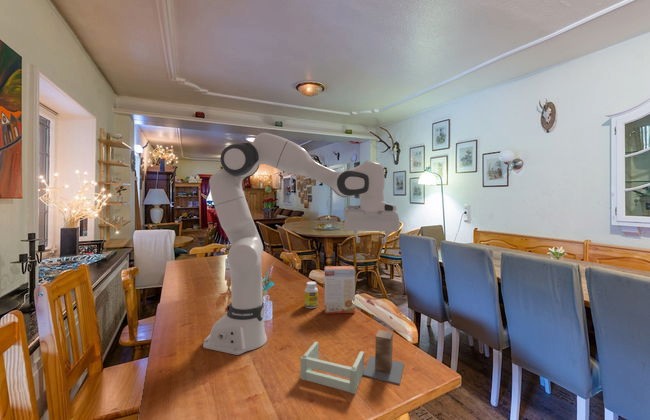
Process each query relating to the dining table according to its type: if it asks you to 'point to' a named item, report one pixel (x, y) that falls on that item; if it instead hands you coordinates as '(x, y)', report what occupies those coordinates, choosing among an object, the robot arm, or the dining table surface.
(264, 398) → the dining table surface
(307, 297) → the pill bottle
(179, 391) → the dining table surface
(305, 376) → the crate
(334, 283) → the cracker box
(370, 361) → the mat
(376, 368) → the walnut block
